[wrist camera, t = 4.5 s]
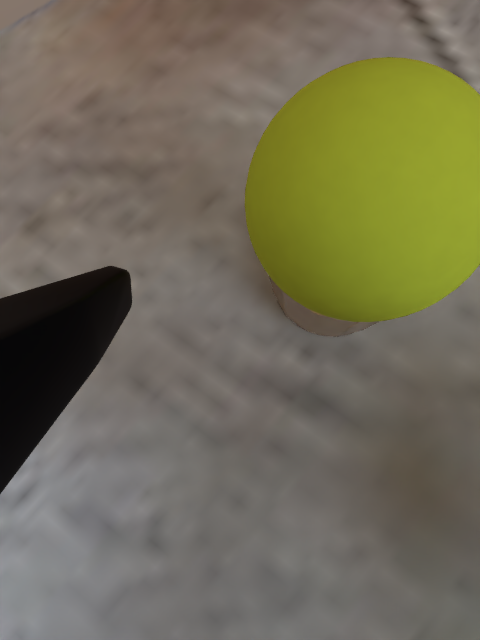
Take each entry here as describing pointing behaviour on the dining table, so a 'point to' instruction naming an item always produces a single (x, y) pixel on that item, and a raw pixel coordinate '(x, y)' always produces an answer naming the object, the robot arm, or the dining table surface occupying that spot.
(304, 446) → the dining table surface
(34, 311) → the robot arm
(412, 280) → the ball
